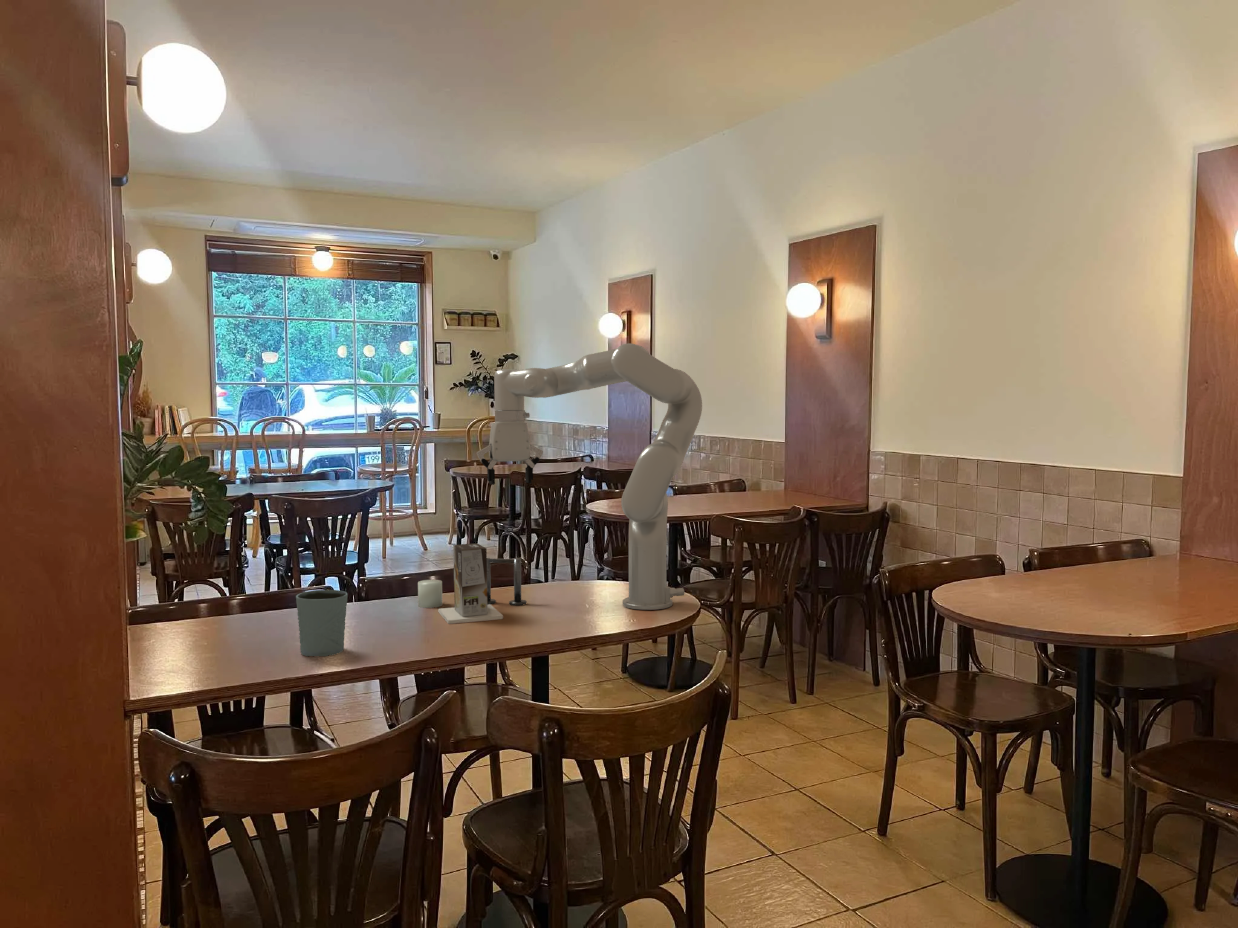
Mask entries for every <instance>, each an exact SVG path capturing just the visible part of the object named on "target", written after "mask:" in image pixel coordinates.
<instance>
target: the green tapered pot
mask: <svg viewBox="0 0 1238 928" xmlns="http://www.w3.org/2000/svg"><path fill="white" fill-rule="evenodd" d="M348 595H349V594H348V592H347V591H344V590H338V589H321V590H320V589H319V590H318V589H317V590H310V591H305V592H300V593H298V594H296V595H295V599H296V600H295V603H296V610H297V620H298V631H299V633H298V634H299V637H298V639H299V644H300V645H299V650H300V653H301V655H302V656H304V655H305V656H304V657H308V656H324V657H329V656H328V655H331V656H334V654H335V655H338V654H340V653H342V652H343V651H344V649H345V630H346V616H347V606H348ZM337 653H338V654H337Z"/></svg>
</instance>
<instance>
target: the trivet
mask: <svg viewBox="0 0 1238 928" xmlns="http://www.w3.org/2000/svg"><path fill="white" fill-rule="evenodd" d="M437 611H438V613H439V615H440V616H441V617H442V618H443V619H444V620H445V622H446V623H447V624H448V625H451V624H462V623H471V622H472V623H473V622H484V621H485V622H486V621H494V620H503V619H504V615H503V614H502V613H501V612H500V611H499V610H498V609H496V608H495V606H493V604H491V605H490V604H489V605H487V614H486V615H476V616H466V617H463V616H462V615H460V614H459V613H458V612H457V611H456V610H455V607H445V608H443V607H442V608H438V610H437Z"/></svg>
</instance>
